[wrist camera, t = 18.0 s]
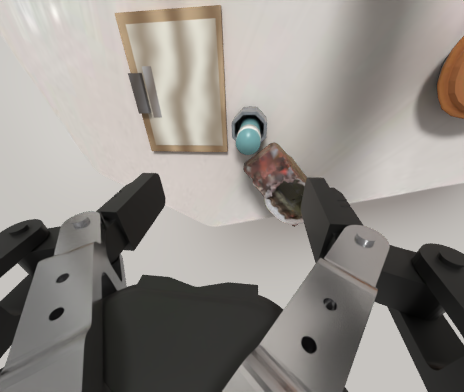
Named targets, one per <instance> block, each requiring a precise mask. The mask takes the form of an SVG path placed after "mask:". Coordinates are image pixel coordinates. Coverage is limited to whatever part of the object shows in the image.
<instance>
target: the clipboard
mask: <svg viewBox="0 0 464 392" xmlns="http://www.w3.org/2000/svg"><path fill="white" fill-rule="evenodd" d="M115 17H116V20H117V24H118V28H119V32H120V35H121V39H122V43H123V46H124V50H125V54H126V57H127V61H128V65H129V69H130V72H131V73H128V75H129V79H130V82H131V86H132V89H133V93H134V97H135V100H136V104H137V107H138V111H139V113H142V117H143V120H144V124H145V128H146V131H147V135H148V139H149V142H150V146H151V150H152V151H188V152H227V151H228V146H227V123H226V101H225V79H224V57H223V35H222V13H221V5H215V6H202V7H189V8H176V9H163V10H150V11H136V12H123V13H115Z"/></svg>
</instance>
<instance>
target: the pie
mask: <svg viewBox="0 0 464 392" xmlns="http://www.w3.org/2000/svg"><path fill="white" fill-rule="evenodd" d="M437 91H438V100H439V102H440V105H441V108H442V110H444V111H445V112H446V113H448V114H449V115H450V116H453V117H458V118H462V119H464V36H463V37H462V39H461V40H460V41H459V42H458V43H457V44H456V46H455V47H454V48H453V49H452V51H451V52H450V54H449V55H448V57H447V59H446V60H445V62H444V64H443V66H442V68H441V71H440V74H439V77H438V83H437Z"/></svg>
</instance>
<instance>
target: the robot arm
mask: <svg viewBox="0 0 464 392" xmlns="http://www.w3.org/2000/svg"><path fill="white" fill-rule="evenodd" d="M164 205H165V195H164V191H163V187H162V184H161V180H160V177H159V175H158V174H157V173H142V174H141V175H140V176H139V177H138V178H137V179H135V180H134V181H133V182H132V183H130V184H128V185H126V186H125V187H123V188H122V189H121V190H120V191H119V193H117V194H115V195H114V197H112V198H111V199H110V200H109V201H108V202H106V203H105V204H104V205H103V206H102V207H101V208H100V209H98V210H97V211H96V212H94V211H88V212H83V213H80V214H77V215H75V216H73V217H71V218H69V219H68V220H66V221H65V222H64V223H63V224H62V226H61V227H54V228H49V229H47V228H46V226H45V225H44V224H43V222H42V221H41V220H38V219H33V220H27V221H23V222H20V223H17V224H15V225H13V226H11V227H9V228H7V229H5V230H4V231H2V232H1V233H0V277H1V276H3V275H4V274H5V273H6V272H7V271H9V270H10V269H11V268H12V267H13V266H15V265H16V264H17V263H18V264H19V265H20V266H21V267H22V268H23V269H24V270H25V271H26V272H27V273H28V274H29V275H28V276H27V277H26V278H25V279H23V280H22V281H21V282H20V283H19V284H18V285H17V286H16V287H15V288H14V289H13V290H12V291H11V292H10V293H9V294H8V295H7V296H6V297H5V298H4V299H3V300H1V301H0V358H1V357H2V355H3V354H4V353H5V352H6V351H7V349H8V348H9V347H10V346H11V345H12V346H11V349H10V352H9V356H8V358H7V362H6V364H5V367H3V368H2V369H0V392H348V391H347V389H346V388H345V384H346V381H347V378H348V375H349V372H350V369H351V366H352V363H353V361H354V358H355V355H356V352H357V349H358V347H359V343H360V341H361V338H362V335H363V332H364V329H365V327H366V324H367V321H368V318H369V315H370V312H371V309H372V306H373V303H374V302H377V303H379V304H382V305H385V306H387V307H388V309H389V311H390V313H391V315H392V317H393V319H394V322H395V324H396V326H397V328H398V330H399V332H400V334H401V336H402V338H403V340H404V342H405V345H406V347H407V349H408V351H409V353H410V355H411V357H412V359H413V361H414V364H415V366H416V368H417V370H418V372H419V374H420V376H421V378H422V380H423V382H424V384H425V387H426V389H427V391H428V392H464V345H463V343H462V342H461V340H460V339H459V338H458V336H457V335H456V333H455V332H454V330H453V329H452V327H451V326H450V324H449V323H448V321H447V320H446V319H445V317H444V316H443V313H445V312H446V313H447V314H448V316H449V317H450V319H451V320H452V321H453V323H454V324H455V326H456V327H457V329H458V330H459V331H460V333H461V334H462V336H463V338H464V254H463V253H461V252H459V251H457V250H455V249H452V248H450V247H447V246H443V245H439V244H425V245H423V246H422V247H421V248H420V249H419V251H418V252H413V251H409V250H405V249H402V248H398V247H394V246H391V245H389V242H388V241H387V239H386V238H385V237H384V236H383V235H382V234H380V233H379V232H377V231H376V230H374V229H371V228H369V227H366V226H363V224H362V223H361V221H360V220H359V218H358V217H357V215H356V214H355V212H354V211H353V209H352V208H351V207H350V205H349V203H348V202H347V200H346V199H345V197H344V195H343V194H342V193H341V192H339V191H338V190H336V189H335V188H329V186H328V184H327V183H326V181H325V179H324V178H307V179H306V183H305V188H304V192H303V197H302V202H301V214H302V218H303V221H304V224H305V228H306V231H307V235H308V238H309V242H310V245H311V249H312V252H313V255H314V259H315V262H316V264H315V266H314V267H313V269H312V270H311V271H310V273H309V274H308V276H307V277H306V279H305V280H304V281H303V283H302V284H301V286H300V287H299V289H298V290H297V292H296V293H295V294H294V296H293V297H292V299H291V300H290V301H289V303H288V304H287V306H286V307H285V309H284V310H283V309H282V308H281V307H280V306H278V305H277V304H275V303H274V302H272V301H271V300H269V299H267V298H265V297H262V296H260V295H258V285H250V284H239V283H221V284H215V285H208V286H202V287H194V286H191V285H189V284H186V283H183V282H181V281H178V280H176V279H172V278H170V277H162V276H150V275H142V277H141V279H140V280H139V282H138V284H136V285H132V286H129V287H127V286H126V279H125V272H124V265H123V258H122V255H121V254H120V253H121V252H122V251H123V250H131V251H134V250H135V249H136V247H137V246H138V244H139V243H140V241H141V240H142V238H143V237H144V235H145V234H146V232H147V231H148V230H149V228H150V227H151V225H152V224H153V222H154V221H155V219H156V218H157V216H158V215H159V213H160V212H161V211H162V209H163V208H164Z"/></svg>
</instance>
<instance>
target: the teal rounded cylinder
mask: <svg viewBox="0 0 464 392" xmlns="http://www.w3.org/2000/svg"><path fill="white" fill-rule="evenodd" d="M260 142H261V134H260V122H259V120H258V119H257V118H256V117H253V116H248V117H246V118H245V119H244V120H243V121H242V123H241V126H240V129H239V132H238V135H237V138H236V147H237V149H238V150H239V151H240V152H241V153H243V154H245V155H251V154H254V153H255V152H256V151H257V150H258V149H259V147H260Z"/></svg>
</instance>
